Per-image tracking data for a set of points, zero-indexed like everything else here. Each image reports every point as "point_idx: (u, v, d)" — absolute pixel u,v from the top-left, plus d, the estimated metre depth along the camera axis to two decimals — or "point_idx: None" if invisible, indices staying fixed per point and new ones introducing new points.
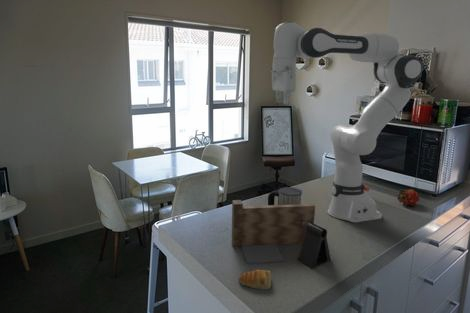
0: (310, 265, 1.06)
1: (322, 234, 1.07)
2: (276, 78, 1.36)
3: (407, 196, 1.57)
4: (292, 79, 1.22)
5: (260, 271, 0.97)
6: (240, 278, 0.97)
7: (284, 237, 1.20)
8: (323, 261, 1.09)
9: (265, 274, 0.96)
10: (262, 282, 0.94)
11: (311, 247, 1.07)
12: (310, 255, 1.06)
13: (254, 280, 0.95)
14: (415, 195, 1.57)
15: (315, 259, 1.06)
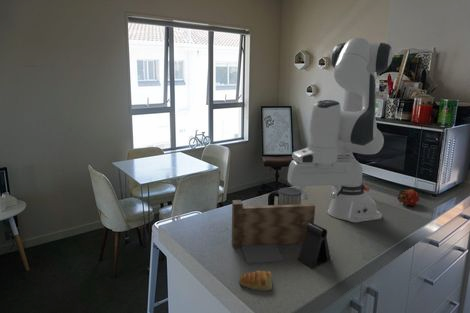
0: (310, 265, 1.06)
1: (322, 234, 1.07)
2: (308, 170, 1.01)
3: (407, 196, 1.57)
4: None
5: (261, 272, 0.97)
6: (241, 279, 0.96)
7: (284, 237, 1.20)
8: (323, 261, 1.09)
9: (266, 275, 0.96)
10: (263, 283, 0.93)
11: (311, 247, 1.07)
12: (311, 255, 1.06)
13: (255, 281, 0.94)
14: (415, 195, 1.57)
15: (315, 259, 1.06)
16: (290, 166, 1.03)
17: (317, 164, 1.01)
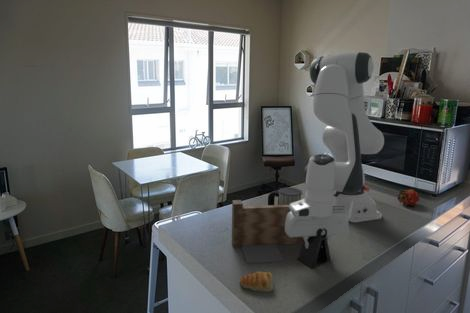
0: (310, 265, 1.06)
1: None
2: (304, 222, 1.05)
3: (407, 196, 1.57)
4: None
5: (261, 273, 0.96)
6: (241, 281, 0.95)
7: (284, 237, 1.20)
8: (323, 261, 1.09)
9: (266, 276, 0.95)
10: (264, 284, 0.93)
11: (311, 247, 1.07)
12: (310, 255, 1.06)
13: (256, 283, 0.93)
14: (415, 195, 1.57)
15: (315, 259, 1.06)
16: (287, 218, 1.06)
17: (313, 217, 1.04)
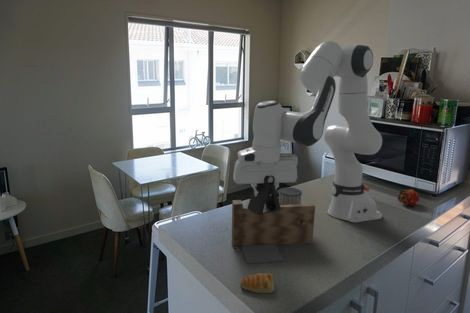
0: (257, 212, 1.06)
1: None
2: (252, 168, 1.05)
3: (407, 196, 1.57)
4: None
5: (262, 275, 0.96)
6: (242, 283, 0.94)
7: (284, 237, 1.20)
8: (272, 210, 1.09)
9: (267, 277, 0.94)
10: (265, 286, 0.92)
11: (259, 194, 1.07)
12: (258, 202, 1.06)
13: (257, 284, 0.93)
14: (415, 195, 1.57)
15: (262, 206, 1.06)
16: (235, 165, 1.06)
17: (260, 162, 1.04)
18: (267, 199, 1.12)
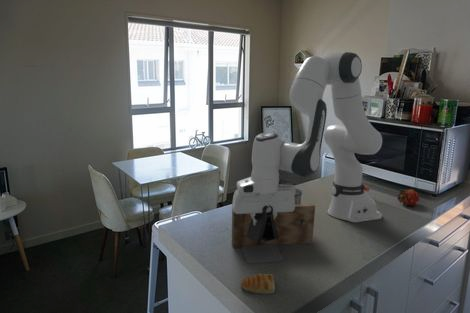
0: (255, 241, 1.08)
1: None
2: (250, 199, 1.07)
3: (407, 196, 1.57)
4: None
5: (262, 275, 0.95)
6: (243, 284, 0.94)
7: (284, 237, 1.20)
8: (270, 238, 1.11)
9: (268, 278, 0.94)
10: (266, 286, 0.92)
11: (257, 224, 1.09)
12: (256, 231, 1.09)
13: (258, 285, 0.92)
14: (415, 195, 1.57)
15: (260, 235, 1.08)
16: (234, 195, 1.09)
17: (258, 193, 1.06)
18: (265, 227, 1.14)
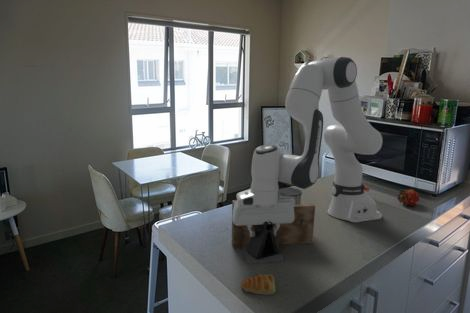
0: (255, 256, 1.09)
1: (269, 227, 1.10)
2: (250, 211, 1.08)
3: (407, 196, 1.57)
4: None
5: (263, 276, 0.95)
6: (243, 285, 0.93)
7: (284, 237, 1.20)
8: (271, 254, 1.12)
9: (269, 279, 0.94)
10: (267, 287, 0.92)
11: (258, 239, 1.11)
12: (257, 246, 1.10)
13: (258, 286, 0.92)
14: (415, 195, 1.57)
15: (260, 251, 1.09)
16: (234, 207, 1.09)
17: (258, 205, 1.07)
18: (266, 242, 1.15)
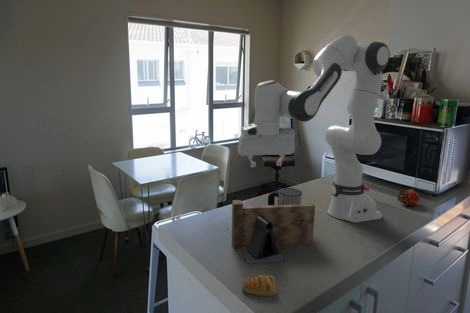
0: (255, 256, 1.09)
1: (269, 227, 1.10)
2: (254, 142, 1.18)
3: (407, 196, 1.57)
4: None
5: (264, 277, 0.94)
6: (244, 286, 0.93)
7: (284, 237, 1.20)
8: (271, 254, 1.12)
9: (269, 280, 0.93)
10: (268, 288, 0.91)
11: (258, 239, 1.10)
12: (257, 247, 1.10)
13: (259, 287, 0.91)
14: (415, 195, 1.57)
15: (260, 251, 1.09)
16: (239, 139, 1.19)
17: (261, 136, 1.17)
18: (266, 242, 1.15)
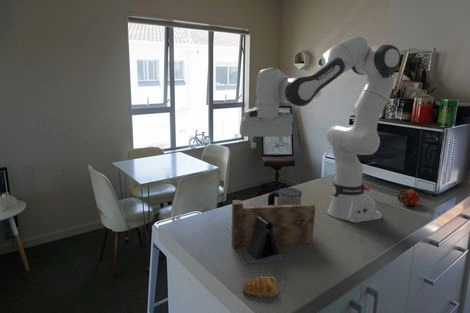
0: (255, 256, 1.09)
1: (269, 227, 1.10)
2: (255, 124, 1.27)
3: (407, 196, 1.57)
4: None
5: (264, 278, 0.94)
6: (245, 287, 0.92)
7: (284, 237, 1.20)
8: (271, 254, 1.12)
9: (270, 280, 0.93)
10: (269, 289, 0.91)
11: (258, 239, 1.10)
12: (257, 247, 1.10)
13: (260, 288, 0.91)
14: (415, 195, 1.57)
15: (260, 251, 1.09)
16: (241, 121, 1.29)
17: (262, 118, 1.27)
18: (266, 242, 1.15)
